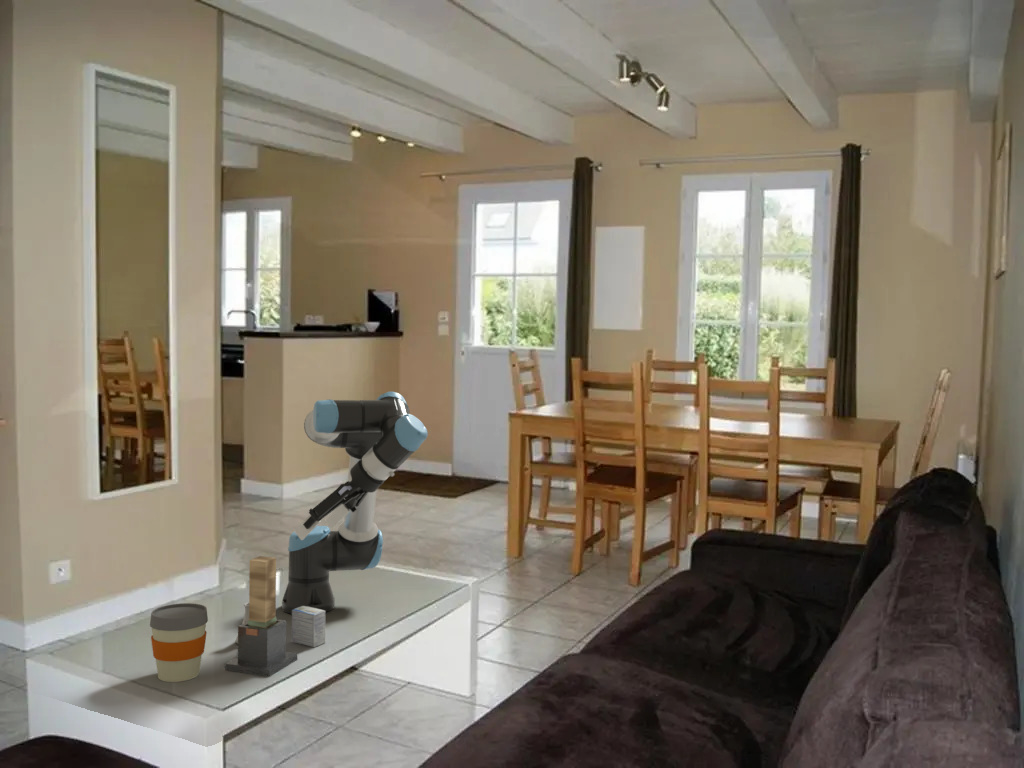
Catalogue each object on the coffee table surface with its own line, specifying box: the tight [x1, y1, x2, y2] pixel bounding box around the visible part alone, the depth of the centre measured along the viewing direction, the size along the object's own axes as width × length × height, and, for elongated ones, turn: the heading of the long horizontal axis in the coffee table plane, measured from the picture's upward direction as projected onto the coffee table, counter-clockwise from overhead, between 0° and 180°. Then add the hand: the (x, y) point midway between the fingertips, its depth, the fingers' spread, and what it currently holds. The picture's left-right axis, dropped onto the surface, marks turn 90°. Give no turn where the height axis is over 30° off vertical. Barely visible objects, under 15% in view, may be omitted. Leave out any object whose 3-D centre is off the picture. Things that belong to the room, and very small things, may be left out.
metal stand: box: [224, 618, 298, 677], centre depth 212 cm, size 12×12×10 cm
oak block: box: [248, 555, 277, 628], centre depth 212 cm, size 5×5×18 cm
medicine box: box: [291, 606, 326, 648], centre depth 229 cm, size 8×4×9 cm, turn 59°
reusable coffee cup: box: [149, 602, 209, 683], centre depth 205 cm, size 12×13×15 cm
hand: (313, 530), depth 207 cm, fingers open, 13 cm apart
